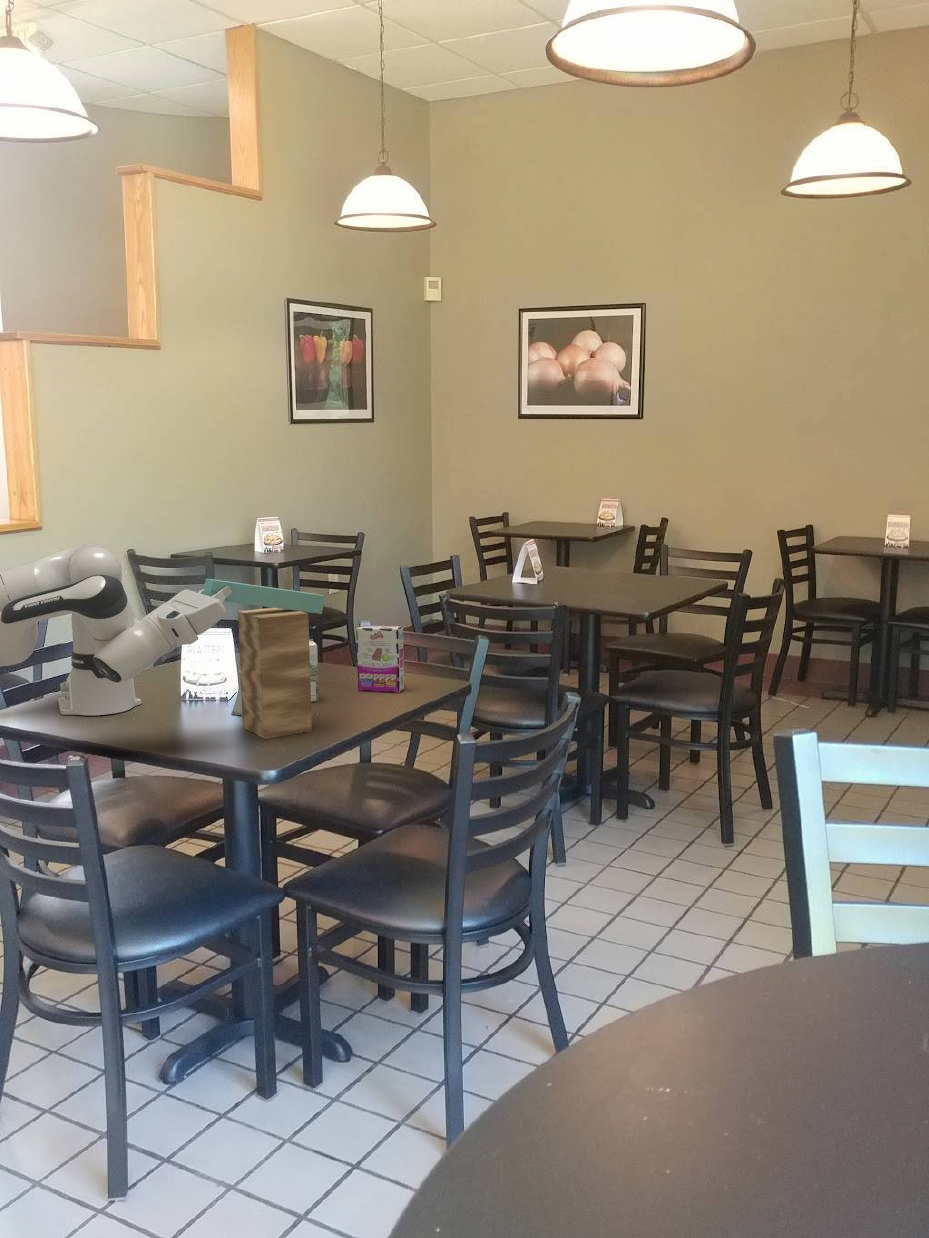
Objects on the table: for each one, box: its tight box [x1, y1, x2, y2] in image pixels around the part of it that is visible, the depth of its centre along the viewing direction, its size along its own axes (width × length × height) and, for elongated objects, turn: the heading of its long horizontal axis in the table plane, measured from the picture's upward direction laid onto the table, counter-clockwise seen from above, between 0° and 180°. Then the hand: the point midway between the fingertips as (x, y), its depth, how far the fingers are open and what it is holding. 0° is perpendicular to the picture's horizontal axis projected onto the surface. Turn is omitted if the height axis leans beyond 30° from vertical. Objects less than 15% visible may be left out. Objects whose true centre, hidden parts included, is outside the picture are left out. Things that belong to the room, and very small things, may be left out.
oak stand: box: [237, 607, 313, 740], centre depth 238 cm, size 12×11×26 cm
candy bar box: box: [355, 625, 406, 694], centre depth 275 cm, size 11×5×16 cm, turn 76°
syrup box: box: [309, 640, 319, 703], centre depth 265 cm, size 6×6×14 cm
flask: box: [231, 669, 242, 716], centre depth 254 cm, size 7×7×10 cm
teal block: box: [203, 578, 325, 615], centre depth 234 cm, size 4×26×4 cm, turn 124°
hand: (224, 587), depth 229 cm, fingers closed on teal block, 4 cm apart
